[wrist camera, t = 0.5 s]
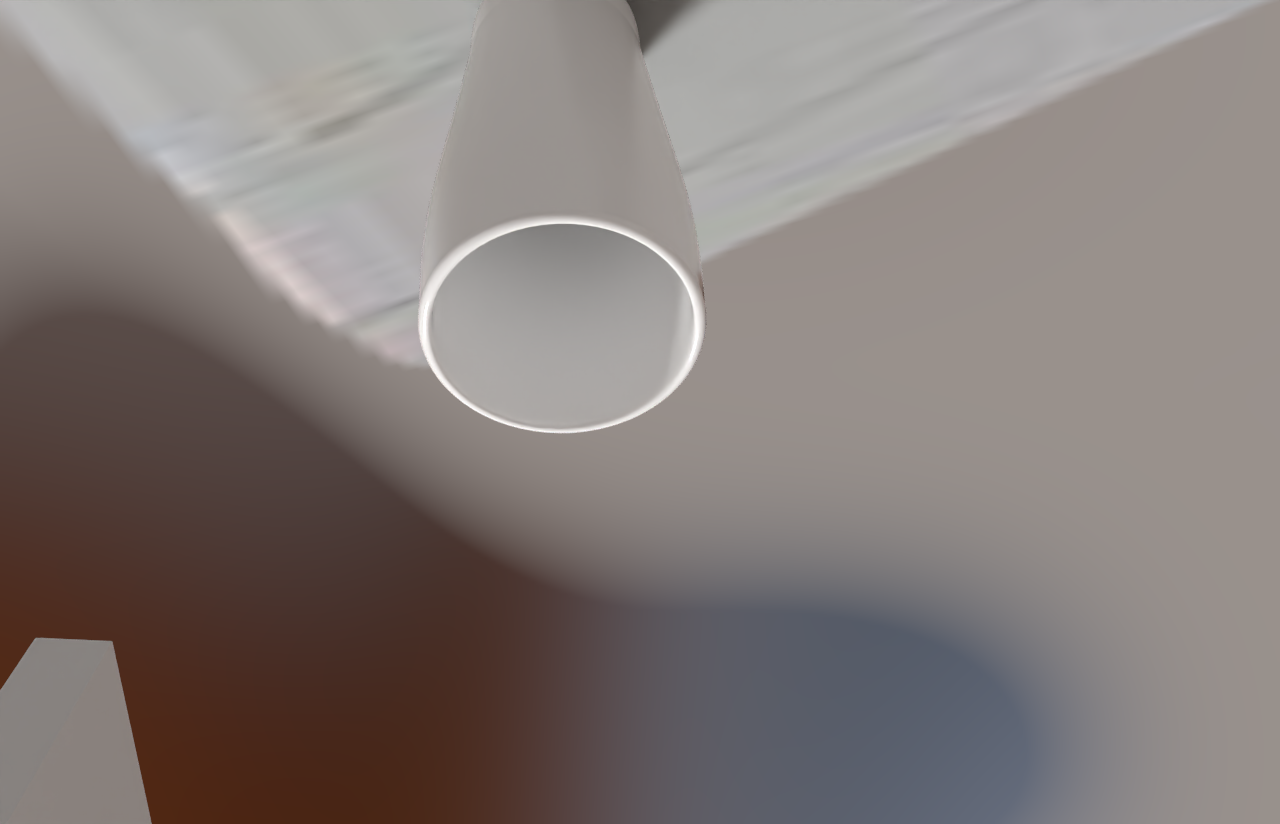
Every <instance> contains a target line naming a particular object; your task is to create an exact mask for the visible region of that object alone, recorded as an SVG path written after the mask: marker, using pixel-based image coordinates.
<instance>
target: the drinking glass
mask: <svg viewBox="0 0 1280 824" xmlns="http://www.w3.org/2000/svg"><path fill="white" fill-rule="evenodd" d="M418 329H419V337H420V341H421V345H422V349H423V352H424V354H425V357H426V359H427V361H428V363H429V365H430V367H431V369H432V370H433V372H434V373H435V375H436V376H437V378H438V379H439V380H440V381H441V383H442V384H443V385H444V386H445V387H446V388H447V389H448V390H449V391H450V392H451V393H452V394H453V395H454V396H455V397H456V398H458V399H459V400H460V401H461V402H463V403H464V404H465V405H467V406H468V407H470V408H471V409H473V410H475V411H476V412H478V413H480V414H482V415H484V416H486V417H488V418H490V419H493V420H495V421H498V422H501V423H503V424H506V425H509V426H513V427H516V428H520V429H526V430H530V431H538V432H546V433H575V432H585V431H591V430H597V429H602V428H606V427H610V426H613V425H617V424H620V423H622V422H625V421H627V420H630V419H632V418H635V417H637V416H639V415H641V414H643V413H645V412H646V411H648V410H650V409H652V408H653V407H655V406H656V405H657V404H659V403H660V402H662V401H663V400H664V399H666V398H667V397H668V396H669V395H670V394H671V393H672V392H673V391H675V389H677V387H679V386H680V384H681V383H682V382H683V381H684V379H685V378H686V377H687V375H688V374H689V373H690V371H691V369H692V368H693V366H694V364H695V363H696V361H697V359H698V357H699V354H700V351H701V348H702V345H703V341H704V337H705V331H706V308H705V299H704V287H703V276H702V267H701V259H700V252H699V245H698V239H697V233H696V227H695V222H694V218H693V213H692V209H691V205H690V201H689V197H688V193H687V190H686V186H685V183H684V179H683V176H682V173H681V170H680V167H679V164H678V161H677V158H676V155H675V152H674V149H673V146H672V143H671V140H670V137H669V134H668V131H667V128H666V125H665V122H664V119H663V116H662V113H661V110H660V107H659V104H658V101H657V98H656V95H655V92H654V89H653V86H652V83H651V79H650V76H649V73H648V70H647V67H646V64H645V61H644V57H643V54H642V51H641V46H640V39H639V33H638V28H637V24H636V20H635V18H634V15H633V12H632V10H631V8H630V6H629V4H628V3H627V1H626V0H483V1H482V3H481V5H480V7H479V9H478V11H477V14H476V17H475V20H474V24H473V29H472V36H471V46H470V53H469V57H468V61H467V65H466V69H465V73H464V77H463V80H462V84H461V88H460V91H459V95H458V99H457V102H456V106H455V109H454V113H453V117H452V120H451V124H450V127H449V131H448V134H447V138H446V141H445V145H444V148H443V152H442V155H441V159H440V162H439V166H438V170H437V173H436V177H435V181H434V185H433V189H432V193H431V197H430V202H429V206H428V212H427V217H426V224H425V231H424V238H423V246H422V255H421V267H420V285H419V311H418Z"/></svg>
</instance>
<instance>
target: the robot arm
mask: <svg viewBox="0 0 1280 824" xmlns="http://www.w3.org/2000/svg"><path fill="white" fill-rule="evenodd" d="M0 824H151V819H150V814H149V810H148V805H147V801H146V796H145V791H144V787H143V782H142V777H141V773H140V768H139V764H138V759H137V755H136V750H135V745H134V740H133V736H132V731H131V726H130V722H129V717H128V713H127V708H126V703H125V699H124V694H123V689H122V685H121V680H120V675H119V671H118V666H117V662H116V657H115V652H114V648H113V643H112V641H95V640H94V641H93V640H73V639H51V638H35V640H34V641H33V643H32V644H31V645H30V647H29V648H28V650H27V651H26V653H25V654H24V656H23V657H22V659H21V660H20V662H19V663H18V665H17V666H16V668H15V669H14V671H13V672H12V674H11V675H10V677H9V678H8V680H7V681H6V683H5V684H4V686H3V687H2V689H1V690H0Z"/></svg>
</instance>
